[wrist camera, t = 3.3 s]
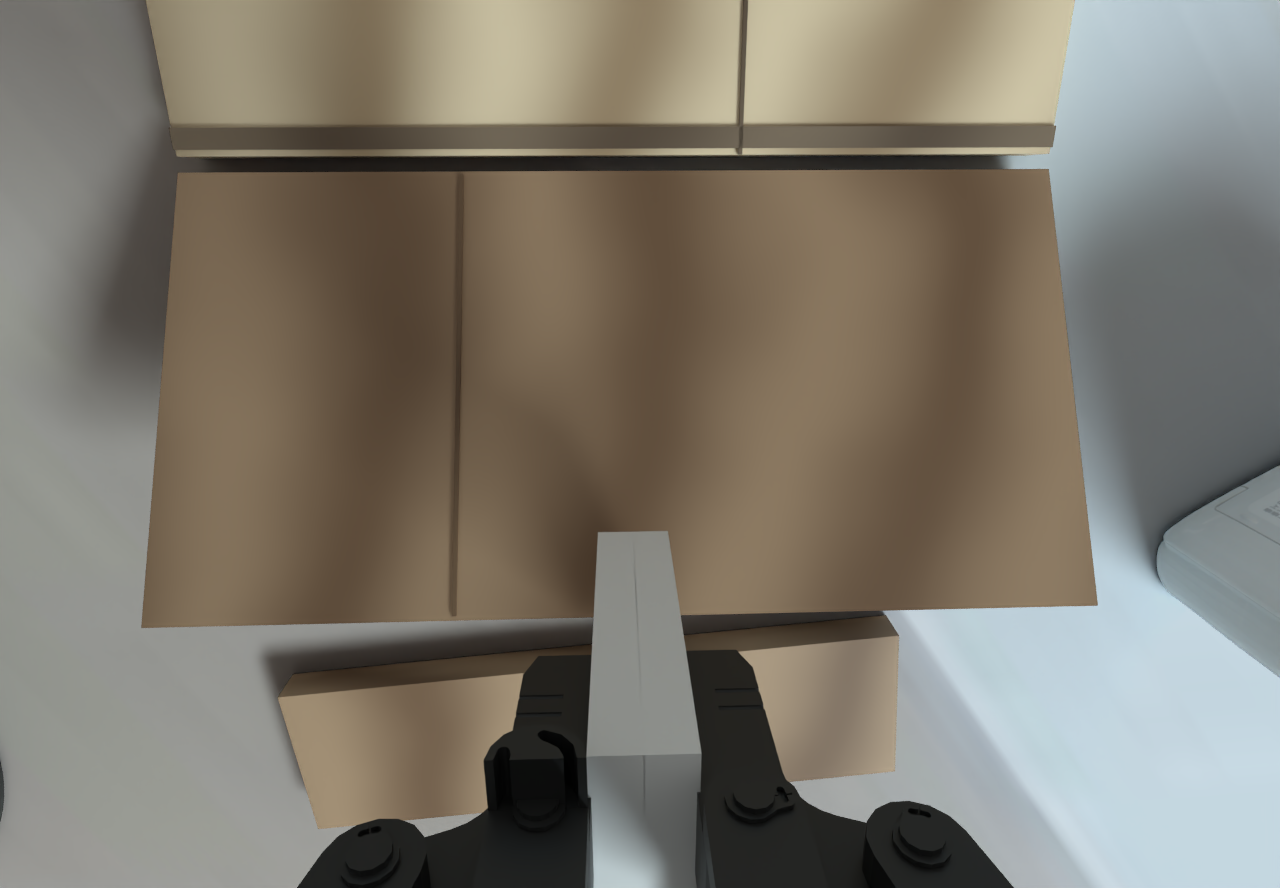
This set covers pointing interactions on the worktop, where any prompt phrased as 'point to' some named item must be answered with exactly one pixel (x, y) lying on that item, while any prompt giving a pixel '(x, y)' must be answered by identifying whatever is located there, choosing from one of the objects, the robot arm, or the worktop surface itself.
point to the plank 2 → (488, 697)
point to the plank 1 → (613, 394)
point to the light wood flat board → (610, 77)
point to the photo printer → (1231, 566)
